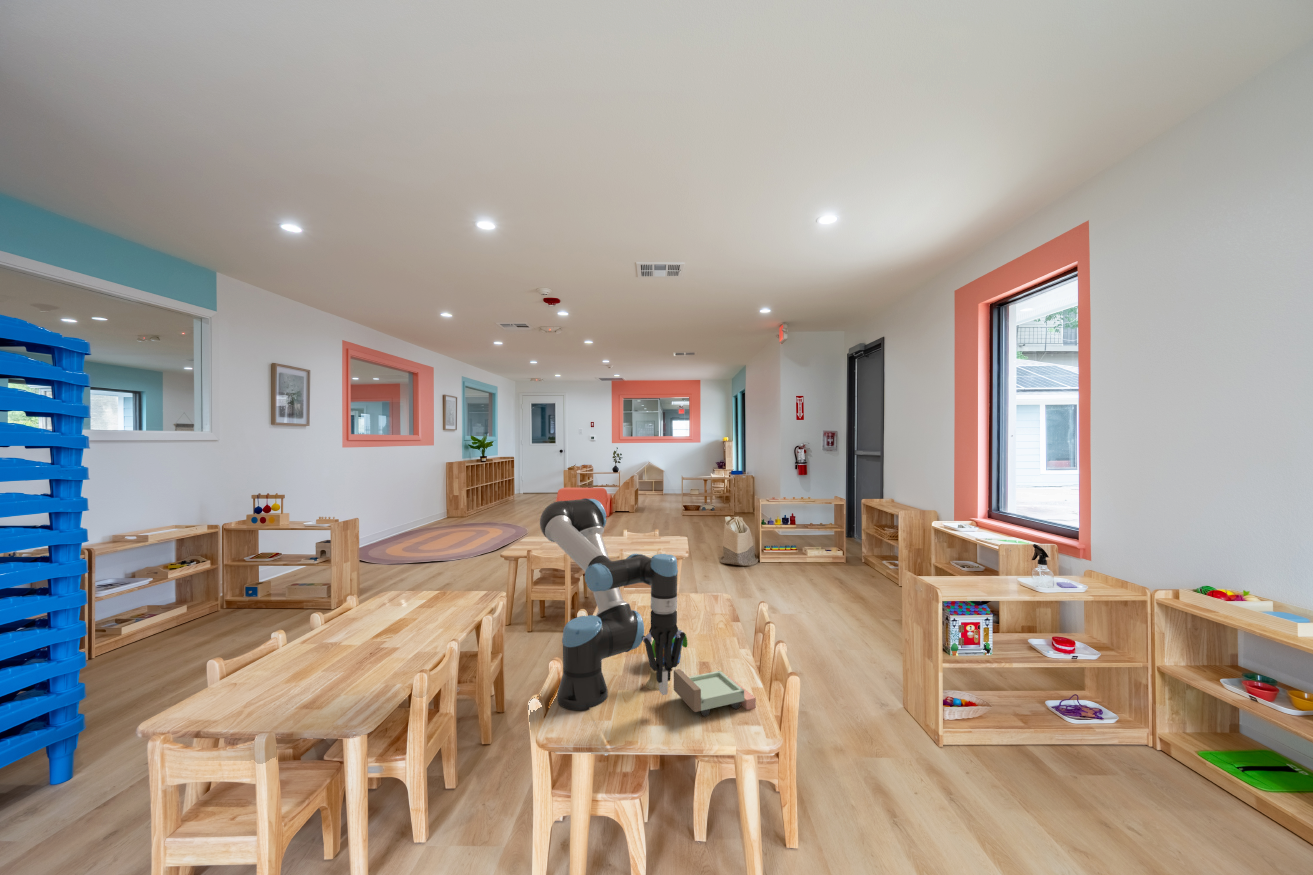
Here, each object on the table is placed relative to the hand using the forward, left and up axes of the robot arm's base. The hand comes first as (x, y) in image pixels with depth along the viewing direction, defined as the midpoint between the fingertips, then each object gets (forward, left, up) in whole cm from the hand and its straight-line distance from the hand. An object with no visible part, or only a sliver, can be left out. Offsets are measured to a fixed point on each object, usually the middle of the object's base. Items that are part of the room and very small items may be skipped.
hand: (663, 692), depth 147 cm
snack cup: (+16, +32, -7) cm, 36 cm away
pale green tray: (+15, -1, -6) cm, 16 cm away
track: (+10, -1, -6) cm, 12 cm away
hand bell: (+5, +16, -7) cm, 18 cm away
